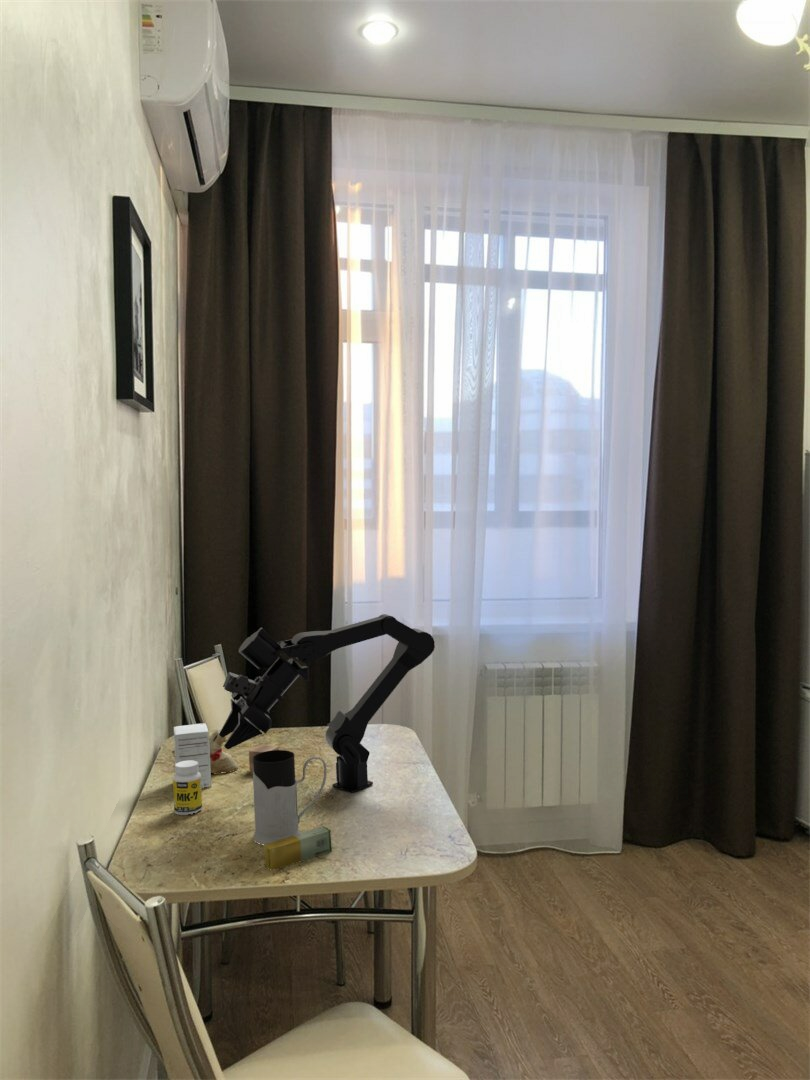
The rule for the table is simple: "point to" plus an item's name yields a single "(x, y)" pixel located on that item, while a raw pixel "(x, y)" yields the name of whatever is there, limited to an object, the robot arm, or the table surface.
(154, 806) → the table surface
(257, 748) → the tan cube
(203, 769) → the supplement box
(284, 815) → the glass holder
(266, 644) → the robot arm
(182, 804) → the supplement bottle
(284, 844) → the medication box
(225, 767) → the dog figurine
